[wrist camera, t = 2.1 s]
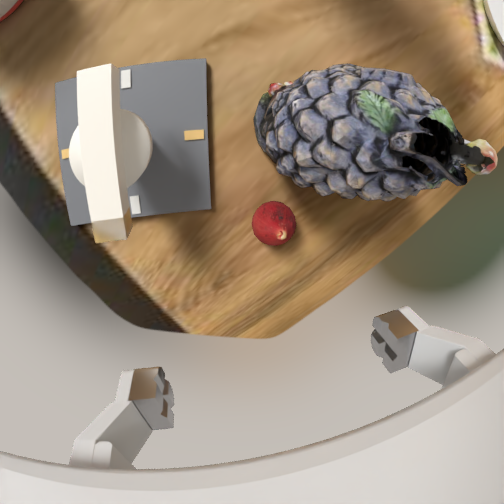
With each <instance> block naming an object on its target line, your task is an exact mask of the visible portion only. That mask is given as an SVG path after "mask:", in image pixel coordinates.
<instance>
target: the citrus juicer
mask: <svg viewBox="0 0 504 504" xmlns="http://www.w3.org/2000/svg"><path fill="white" fill-rule="evenodd" d="M22 1H23V0H0V22H1V21H2V20H4V19H5V18H6V17H8V16H9V15H10V14H11V13H12V12H13V11H14V10H16V9H17V7H18V6H19V5H20V4H21V3H22Z"/></svg>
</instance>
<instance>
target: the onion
mask: <svg viewBox="0 0 504 504" xmlns="http://www.w3.org/2000/svg"><path fill="white" fill-rule="evenodd" d="M252 227H253V231H254V235H255V236H256V237H257V238H258V239H259V240H260V241H261V242H263V243H265V244H267V245H274V246H277V245H281V244H284V243H285V242H287V241H288V240H290V239H291V237H292V236H293V234H294V232H295V228H296V221H295V216H294V214H293V213H292V211H291V209H290V208H289V207H288V206H286V205H285V204H283V203H281V202H276V201H270V202H267V203H264V204H262V205H261V206H260V207H259V208H258V209H257V210H256V212H255V214H254V215H253V219H252Z"/></svg>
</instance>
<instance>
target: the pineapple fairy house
mask: <svg viewBox="0 0 504 504" xmlns="http://www.w3.org/2000/svg"><path fill="white" fill-rule="evenodd" d="M254 126H255V132H256V137H257V141H258V143H259V145H260V146H261V147H262V149H263V151H264V152H266V153H267V154H268V155H269V156H270V158H271V159H272V160H273V161H274V162H275V163H276V164H277V165H276V169H277V171H278V172H279V173H280V174H283V175H286V176H289V177H291V179H292V180H293V182H294V184H295V185H297V186H299V187H300V188H304V187H310V186H312V187H313V188H314V190H315V191H316V193H317V194H319V195H321V196H326V195H330V194H332V193H334V192H336V193H337V194H339V195H340V196H341V197H342V198H346V199H353V198H354V197H355V196H357V195H358V196H359V197H360V198H361V199H364V200H367V201H369V200H377V199H381V200H383V201H391V200H393V199H395V198H396V197H399V198H403V199H405V198H406V197H408V196H409V195H413V196H416V195H417V194H418V193H419V191H420V190H422V189H435V188H439V187H440V185H441V183H442V181H445V180H447V179H448V180H449V181H451V182H452V183H454V184H455V185H457V186H461V185H465V184H466V183H467V177H466V175H465V174H464V173H466V172H465V168H464V167H460V166H463V165H461V164H460V163H462V164H464V165H465V164H467V165H466V167H467V168H468V169H469V170H470V171H471V172H473V173H475V174H478V175H482V174H489V173H490V172H491V171H493V170H494V169H495V167H496V165H497V161H498V159H497V155H496V151H495V150H494V149H493V148H492V147H491V146H490V145H489V143H488V142H487V141H486V140H482V139H478V140H475V141H473V142H470V141H467V140H465V139H463V138H462V135H461V134H460V133H459V132H458V130H457V129H456V127H455V125H454V123H453V121H452V119H451V117H450V115H449V113H448V111H447V109H446V108H445V107H444V106H443V105H442V104H441V102H440V100H439V99H437V98H435V97H432V96H431V95H430V93H428V92H427V91H426V90H425V89H424V88H423V87H422V86H421V85H420V84H419V83H416V82H415V80H414V78H413V76H412V75H410V74H407V73H402V72H398V71H393V70H388V69H380V68H365V67H361V66H356V65H352V64H338V65H333V66H331V67H329V68H327V69H325V70H311V71H310V72H306V73H305V74H304V75H302V76H301V77H300V78H299V79H297V80H295V81H294V83H292V82H291V81H286V82H284V84H280V83H273V84H271V85H270V87H269V89H268V92H267V93H265V94H263V96H262V97H261V99H260V101H259V104H258V107H257V110H256V113H255V116H254Z"/></svg>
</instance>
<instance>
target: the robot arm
mask: <svg viewBox="0 0 504 504" xmlns="http://www.w3.org/2000/svg"><path fill="white" fill-rule="evenodd" d="M373 327H374V328H375V330H374V331H373V333H372V334H371V343H372V348H373V350H374V352H375V353H376V355H377V356H379V357H382V358H383V362H382V363H383V364H384V366H385V367H386V368H387V370H388V371H389V372H390V373H393V372H395V371H398V370H400V369H403V368H405V367H408V368H410V369H412V370H414V371H416V372H418V373H420V374H422V375H424V376H426V377H428V378H430V379H432V380H434V381H436V382H439V383H440V384H442V385H443V386H442V389H441V390H439V391H437V392H436V393H434V394H432V395H430V396H429V397H427V398H424V399H423V400H421V401H419V402H417V403H415V404H413V405H411V406H409V407H406V408H404V409H402V410H400V411H398V412H396V413H394V414H391V415H389V416H387V417H385V418H382V419H380V420H378V421H375V422H373V423H370V424H368V425H366V426H363V427H360V428H358V429H355V430H352V431H349V432H347V433H344V434H341V435H338V436H335V437H332V438H330V439H326V440H323V441H320V442H316V443H313V444H310V445H306V446H303V447H300V448H295V449H291V450H288V451H284V452H279V453H275V454H271V455H266V456H261V457H256V458H251V459H246V460H240V461H235V462H228V463H221V464H214V465H205V466H197V467H184V468H170V469H136V468H135V467H134V466H133V465H132V462H133V460H134V459H135V457H136V456H137V454H138V453H139V451H140V450H141V448H142V447H143V445H144V444H145V442H146V441H147V439H148V438H149V436H150V434H151V433H152V430H159V429H168V428H173V427H174V426H173V425H174V424H173V423H174V414H173V412H172V410H171V408H172V407H173V405H174V396H173V391H172V388H171V385H170V383H169V382H168V381H167V380H165V373H164V371H163V369H162V367H152V368H142V369H134V370H124V371H123V372H122V373H121V377H120V381H119V386H118V390H117V395H116V399H115V402H111V403H110V404H109V405H108V406H107V407H106V408H105V409H104V410H103V411H102V412H101V413H100V414H99V415H98V416H97V417H96V418H95V419H94V420H93V421H92V422H91V424H89V426H88V427H87V428H86V429H85V430H84V431H83V432H82V433H81V434H80V435H79V436H78V437H77V438H76V439H75V441H74V445H73V450H72V454H71V458H70V462H69V465H66V464H59V463H51V462H46V461H41V460H35V459H31V458H26V457H21V456H17V455H13V454H10V453H6V452H1V451H0V504H504V349H503V350H501V351H500V352H499V353H497V354H495V353H494V352H493V351H492V350H491V349H490V348H489V347H488V346H487V345H485V344H484V343H483V342H482V341H481V340H480V339H479V338H475V337H472V336H468V335H465V334H461V333H458V332H454V331H451V330H447V329H443V328H440V327H436V326H433V325H432V326H429V325H428V324H427V323H426V322H425V321H424V320H422V319H421V318H420V317H419V316H418V315H417V314H416V313H415V312H414V311H413V310H412V309H411V308H410V307H408V306H404V307H401V308H398V309H396V310H393V311H390V312H388V313H385V314H382V315H379V316H376V317H374V319H373Z"/></svg>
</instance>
